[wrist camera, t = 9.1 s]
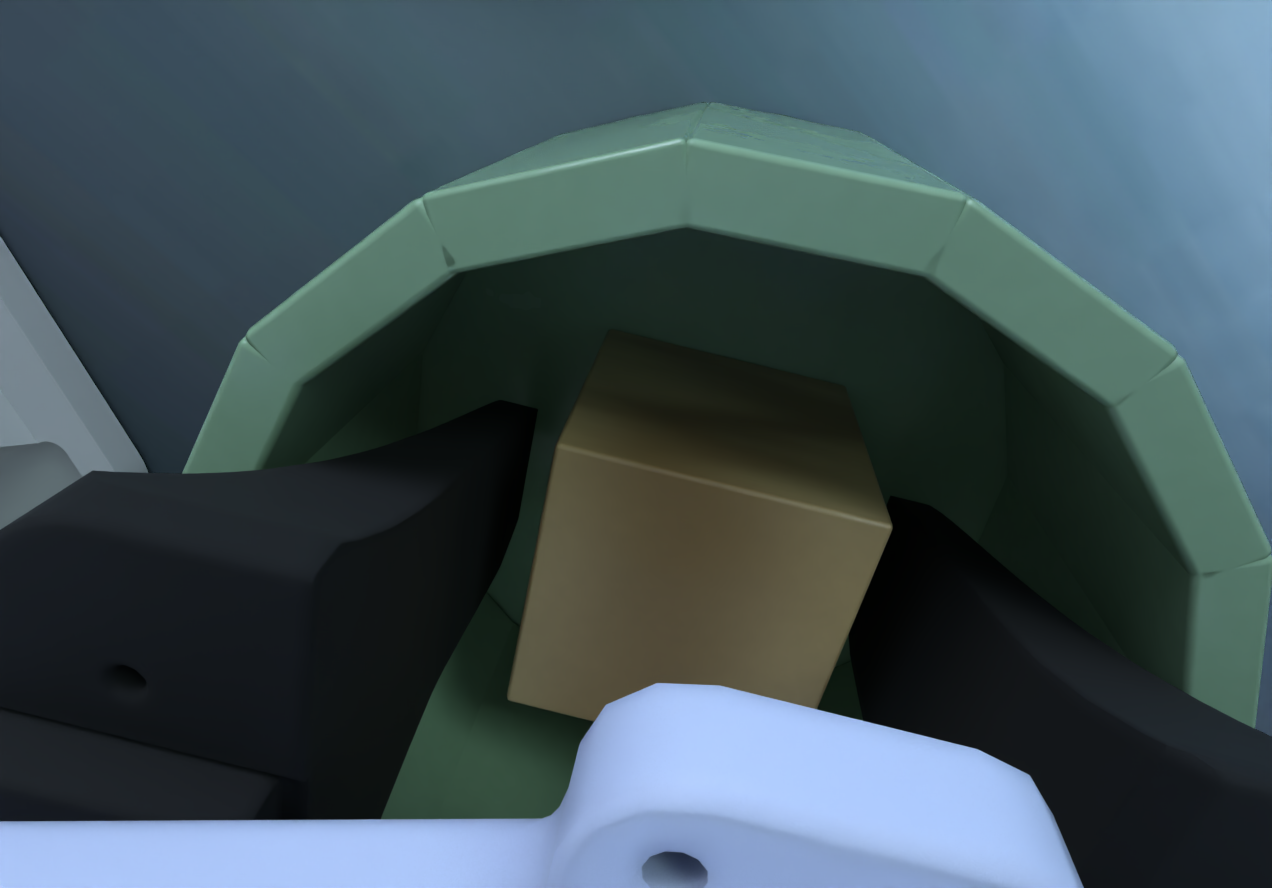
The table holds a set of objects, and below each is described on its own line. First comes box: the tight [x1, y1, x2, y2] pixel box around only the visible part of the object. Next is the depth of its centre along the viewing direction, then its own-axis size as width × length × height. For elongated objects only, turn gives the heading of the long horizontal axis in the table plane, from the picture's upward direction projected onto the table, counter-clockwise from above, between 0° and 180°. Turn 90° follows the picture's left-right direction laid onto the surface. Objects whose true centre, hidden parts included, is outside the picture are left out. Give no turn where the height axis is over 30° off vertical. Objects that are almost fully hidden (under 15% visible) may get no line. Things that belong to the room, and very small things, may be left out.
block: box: [507, 329, 893, 722], centre depth 12 cm, size 4×4×4 cm
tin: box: [182, 102, 1272, 819], centre depth 12 cm, size 11×11×6 cm
